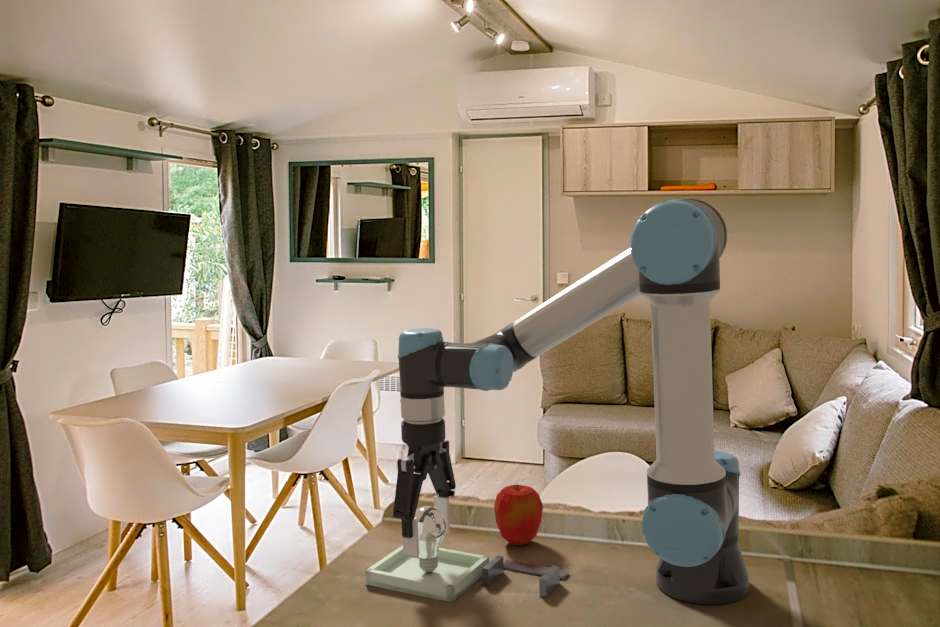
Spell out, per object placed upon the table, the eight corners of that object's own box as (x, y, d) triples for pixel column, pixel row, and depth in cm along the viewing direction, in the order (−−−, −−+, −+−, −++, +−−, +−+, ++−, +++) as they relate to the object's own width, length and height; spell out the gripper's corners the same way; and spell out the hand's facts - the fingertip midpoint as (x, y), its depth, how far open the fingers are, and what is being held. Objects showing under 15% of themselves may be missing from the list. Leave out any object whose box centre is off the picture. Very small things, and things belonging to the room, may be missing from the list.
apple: (495, 553, 165) (494, 491, 163) (493, 535, 174) (492, 475, 172) (545, 551, 165) (544, 489, 164) (541, 533, 174) (539, 474, 172)
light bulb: (444, 582, 151) (440, 515, 149) (404, 580, 153) (400, 514, 151) (452, 564, 158) (449, 500, 156) (414, 562, 159) (411, 499, 157)
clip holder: (568, 574, 155) (568, 557, 155) (546, 597, 146) (546, 580, 146) (506, 562, 160) (506, 547, 160) (481, 584, 152) (481, 568, 151)
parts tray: (489, 570, 158) (489, 556, 157) (451, 602, 145) (451, 588, 145) (407, 554, 165) (407, 541, 165) (365, 584, 153) (365, 570, 153)
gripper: (436, 402, 163) (440, 518, 166) (367, 433, 143) (373, 563, 146) (472, 406, 160) (475, 523, 163) (407, 437, 140) (412, 571, 143)
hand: (427, 542), depth 155 cm, fingers open, 10 cm apart
